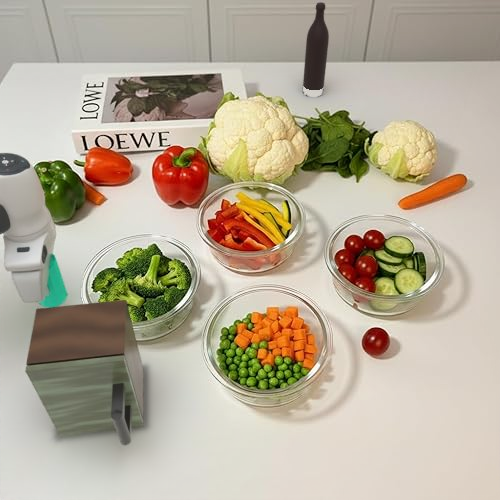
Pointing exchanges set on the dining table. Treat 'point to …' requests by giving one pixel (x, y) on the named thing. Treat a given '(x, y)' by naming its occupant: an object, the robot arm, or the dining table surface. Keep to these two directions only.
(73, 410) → the cupboard door
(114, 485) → the dining table surface
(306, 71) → the wine bottle
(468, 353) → the dining table surface
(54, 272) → the candle
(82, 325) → the cupboard
